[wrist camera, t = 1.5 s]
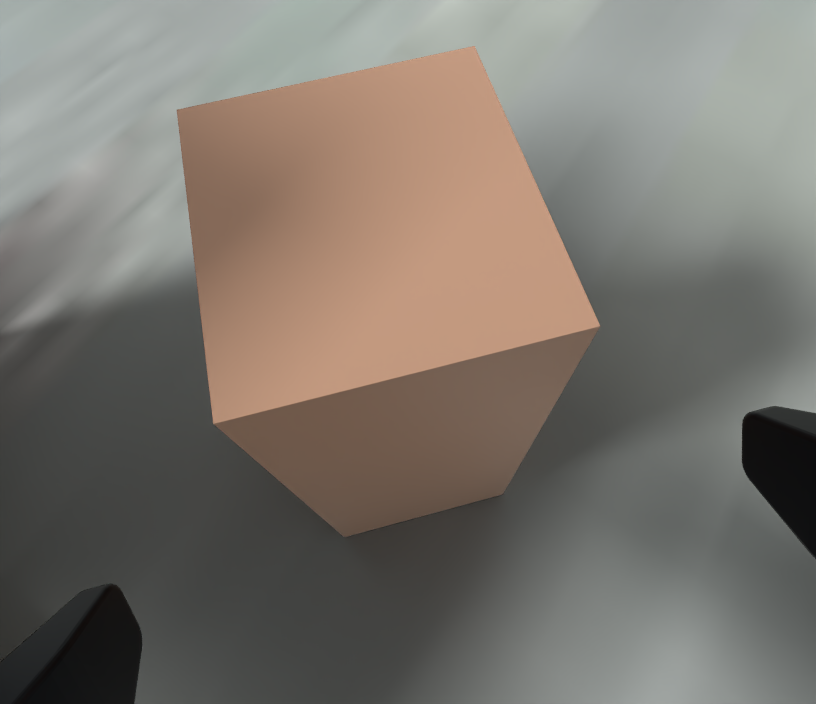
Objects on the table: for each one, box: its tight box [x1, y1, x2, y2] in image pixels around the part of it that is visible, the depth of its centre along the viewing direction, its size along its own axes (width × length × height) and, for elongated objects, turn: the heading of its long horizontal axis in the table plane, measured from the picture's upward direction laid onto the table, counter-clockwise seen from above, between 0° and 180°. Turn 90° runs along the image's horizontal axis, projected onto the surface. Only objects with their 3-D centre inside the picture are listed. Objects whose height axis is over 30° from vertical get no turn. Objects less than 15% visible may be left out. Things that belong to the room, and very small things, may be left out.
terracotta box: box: [177, 46, 600, 537], centre depth 15 cm, size 6×6×12 cm
